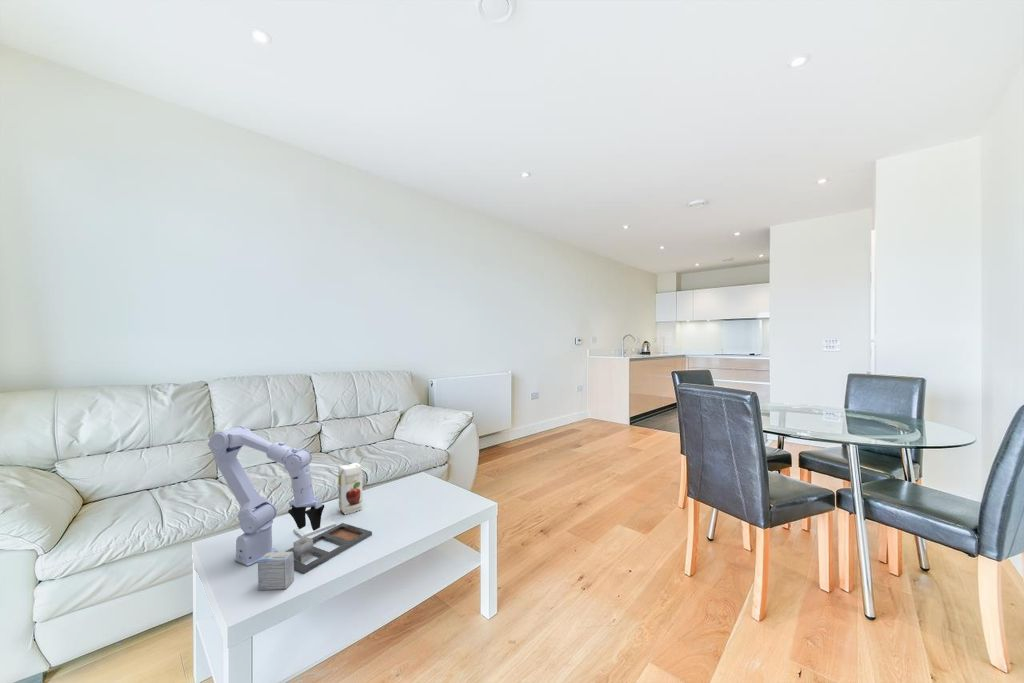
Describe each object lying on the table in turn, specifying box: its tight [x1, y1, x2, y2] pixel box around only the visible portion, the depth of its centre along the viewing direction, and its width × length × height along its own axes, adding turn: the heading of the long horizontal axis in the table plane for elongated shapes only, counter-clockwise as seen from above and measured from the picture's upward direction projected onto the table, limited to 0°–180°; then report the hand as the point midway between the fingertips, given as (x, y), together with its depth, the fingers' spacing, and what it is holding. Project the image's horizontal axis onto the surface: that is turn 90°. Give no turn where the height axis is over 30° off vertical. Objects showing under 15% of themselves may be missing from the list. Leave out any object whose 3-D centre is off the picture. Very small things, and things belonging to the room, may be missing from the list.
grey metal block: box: [292, 536, 314, 564], centre depth 121 cm, size 4×4×6 cm
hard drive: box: [292, 517, 337, 539], centre depth 142 cm, size 2×8×12 cm
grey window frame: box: [284, 522, 373, 575], centre depth 128 cm, size 26×16×1 cm, turn 152°
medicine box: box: [257, 551, 295, 591], centre depth 108 cm, size 8×4×9 cm, turn 92°
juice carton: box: [337, 462, 364, 516], centre depth 158 cm, size 8×9×19 cm
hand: (309, 528), depth 123 cm, fingers open, 7 cm apart
